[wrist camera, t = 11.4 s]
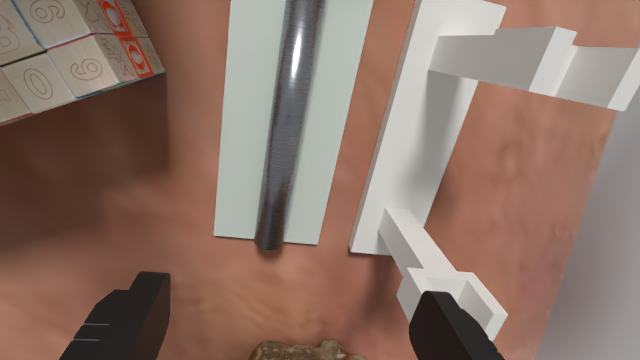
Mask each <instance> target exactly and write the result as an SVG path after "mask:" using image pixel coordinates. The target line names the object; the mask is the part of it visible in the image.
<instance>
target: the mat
mask: <svg viewBox="0 0 640 360" xmlns="http://www.w3.org/2000/svg"><path fill="white" fill-rule="evenodd" d="M285 2H286V0H231V7H230V21H229V34H228V48H227V62H226V75H225V89H224V102H223V116H222V129H221V143H220V156H219V170H218V183H217V197H216V210H215V224H214V236H225V237H237V238H248V239H254V235H255V228H256V220H257V213H258V205H259V198H260V190H261V183H262V175H263V168H264V160H265V153H266V145H267V138H268V130H269V123H270V115H271V108H272V100H273V92H274V85H275V77H276V70H277V62H278V55H279V47H280V40H281V32H282V25H283V17H284V10H285ZM372 5H373V0H326V2H325V8H324V13H323V19H322V25H321V30H320V36H319V42H318V47H317V53H316V59H315V64H314V70H313V76H312V81H311V87H310V93H309V98H308V104H307V110H306V115H305V121H304V127H303V132H302V138H301V144H300V149H299V155H298V161H297V166H296V172H295V177H294V183H293V189H292V194H291V200H290V206H289V211H288V217H287V223H286V228H285V234H284V240H283V242H293V243H304V244H315V245H318V240H319V236H320V231H321V227H322V223H323V218H324V214H325V210H326V205H327V201H328V197H329V192H330V188H331V183H332V179H333V175H334V170H335V166H336V162H337V157H338V153H339V149H340V144H341V140H342V135H343V131H344V127H345V122H346V118H347V114H348V109H349V105H350V101H351V96H352V92H353V88H354V83H355V79H356V74H357V70H358V66H359V61H360V57H361V53H362V48H363V44H364V40H365V35H366V31H367V26H368V22H369V18H370V13H371V9H372Z"/></svg>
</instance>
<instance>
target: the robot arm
mask: <svg viewBox="0 0 640 360" xmlns="http://www.w3.org/2000/svg"><path fill="white" fill-rule="evenodd" d="M169 317H170V274H169V273H159V272H144V271H141V272H140V273H139V274H138V275H137V277H136V278H135V280H134V282H133V284H132V285H131V287H130V289H129V290H114V291H112V292H111V293H110V294H109V295H107V296H106V297H105V298H103V299H102V300H101V301H100V302H98V303H97V304H96V305H95V307H94V308H93V310H92V311H91V313H90V314H89V316H88V317H87V319H86V320H85V322H84V325H83V326H81V328H80V329H79V331H78V332H77V333H76V335H75V336H74V340H73V341H71V342H70V344H69V345H68V347H67V348H66V350H65V351H64V353H63V354H62V356H61V357H60V359H59V360H156V358H157V356H158V353H159V350H160V348H161V345H162V342H163V340H164V337H165V334H166V331H167V327H168V323H169ZM409 337H410V342H411V344H412V347H413V349H414V351H415V353H416V356H417V358H418V360H505V359H504V358H503V357H502V355H501V354H500V353H498V352H497V348H496V347H495V345H494V344H493V342H492V341H491V340H489V338H488V335H487V334H486V333H485V331H484V330H483V328H482V327H481V325H480V324H479V323H478V322H477V321H476V320H475V319H474V318H473V317H472V316H471V315H470V314H469V313H467V312H466V311H465V310H464V309H461V308H460V307H459V305H458V304H457V302H456V301H455V299H454V298H453V296H452V295H451V294H450V293H448V292H442V291H424V292H423V293H422V295H421V298H420V300H419V302H418V305H417V307H416V310H415V312H414V314H413V317H412V319H411V321H410V325H409Z"/></svg>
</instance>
